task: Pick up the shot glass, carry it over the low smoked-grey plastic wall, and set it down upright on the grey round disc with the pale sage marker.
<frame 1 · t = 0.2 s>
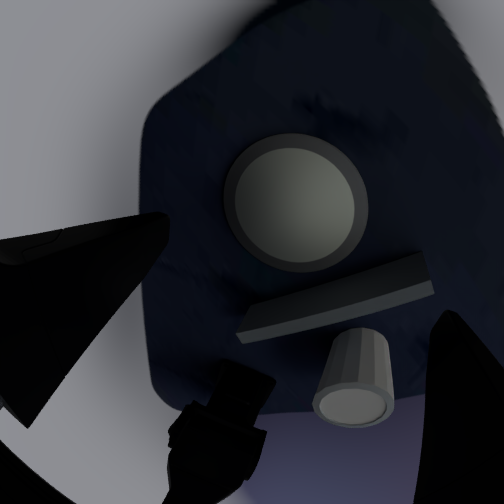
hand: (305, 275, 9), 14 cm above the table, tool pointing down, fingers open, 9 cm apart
low wall: (332, 287, 26), on the table
shot glass: (360, 347, 28), on the table
grey round disc: (294, 206, 23), on the table
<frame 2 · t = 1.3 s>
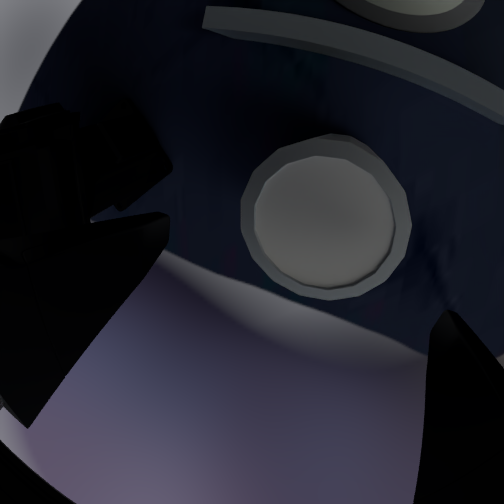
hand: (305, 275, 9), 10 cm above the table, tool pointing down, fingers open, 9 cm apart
low wall: (373, 58, 14), on the table
shot glass: (336, 180, 18), on the table
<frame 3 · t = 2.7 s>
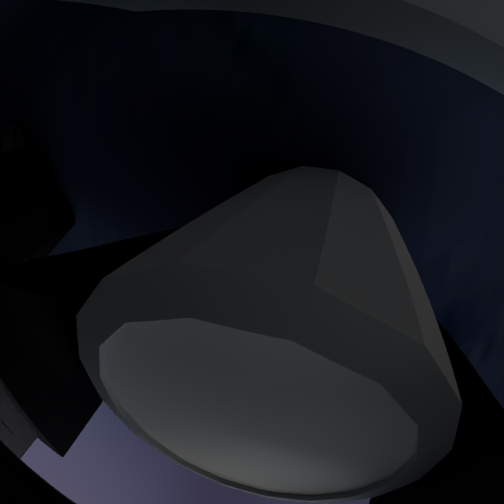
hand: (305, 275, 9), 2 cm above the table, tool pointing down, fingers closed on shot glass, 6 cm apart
low wall: (383, 21, 6), on the table
shot glass: (313, 247, 10), on the table, touching gripper
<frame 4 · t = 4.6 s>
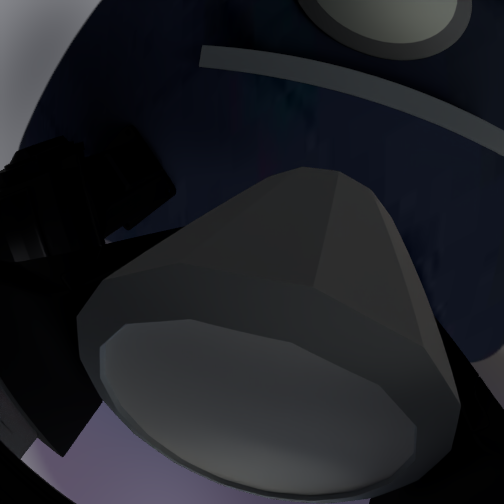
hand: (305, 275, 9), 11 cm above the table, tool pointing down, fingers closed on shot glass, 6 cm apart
low wall: (359, 87, 16), on the table
shot glass: (313, 248, 11), point 10 cm above the table, touching gripper
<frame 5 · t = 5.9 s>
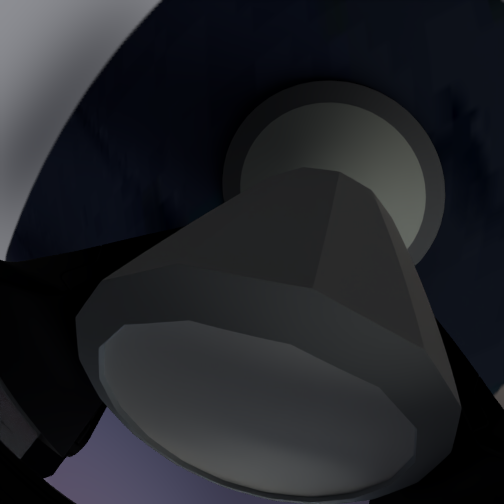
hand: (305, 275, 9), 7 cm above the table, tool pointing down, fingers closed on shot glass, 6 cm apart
shot glass: (314, 248, 10), point 5 cm above the table, touching gripper
grey round disc: (332, 196, 15), on the table
when the fingers open (3 cm above the table, at t = 7.0 s): shot glass drops 1 cm, resting on grey round disc.
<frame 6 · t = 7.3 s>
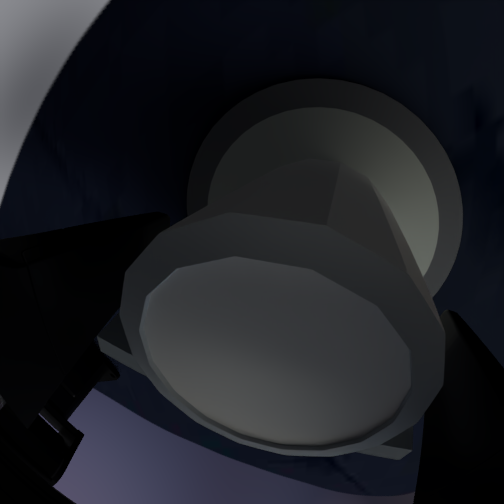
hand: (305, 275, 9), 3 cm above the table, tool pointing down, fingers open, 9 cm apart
low wall: (272, 352, 16), on the table
shot glass: (318, 231, 12), resting on grey round disc
grey round disc: (321, 226, 12), on the table
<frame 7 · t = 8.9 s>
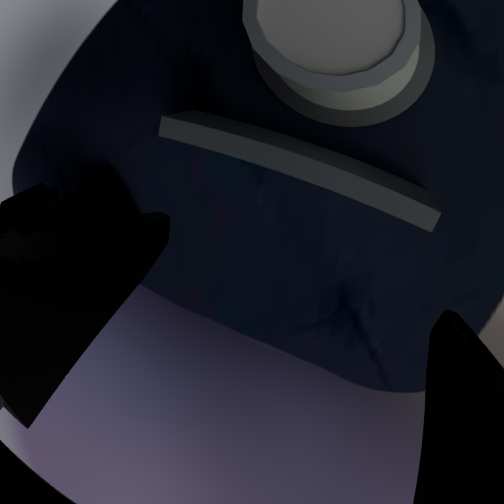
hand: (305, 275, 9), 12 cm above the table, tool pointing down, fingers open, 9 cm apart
low wall: (306, 151, 19), on the table
shot glass: (341, 39, 14), resting on grey round disc
grey round disc: (342, 38, 15), on the table
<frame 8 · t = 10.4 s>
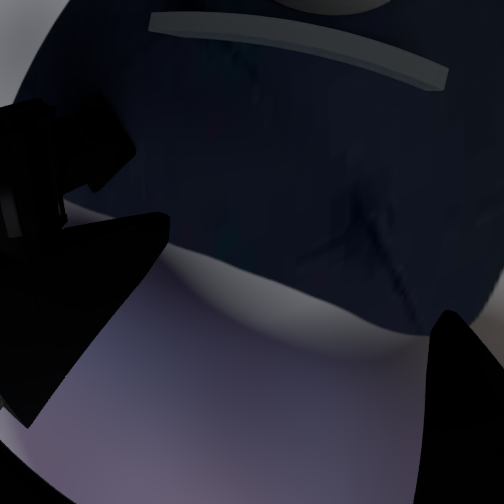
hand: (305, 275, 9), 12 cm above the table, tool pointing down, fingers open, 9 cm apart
low wall: (300, 42, 16), on the table
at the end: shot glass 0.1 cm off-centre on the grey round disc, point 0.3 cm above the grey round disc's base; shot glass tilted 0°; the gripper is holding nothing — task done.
